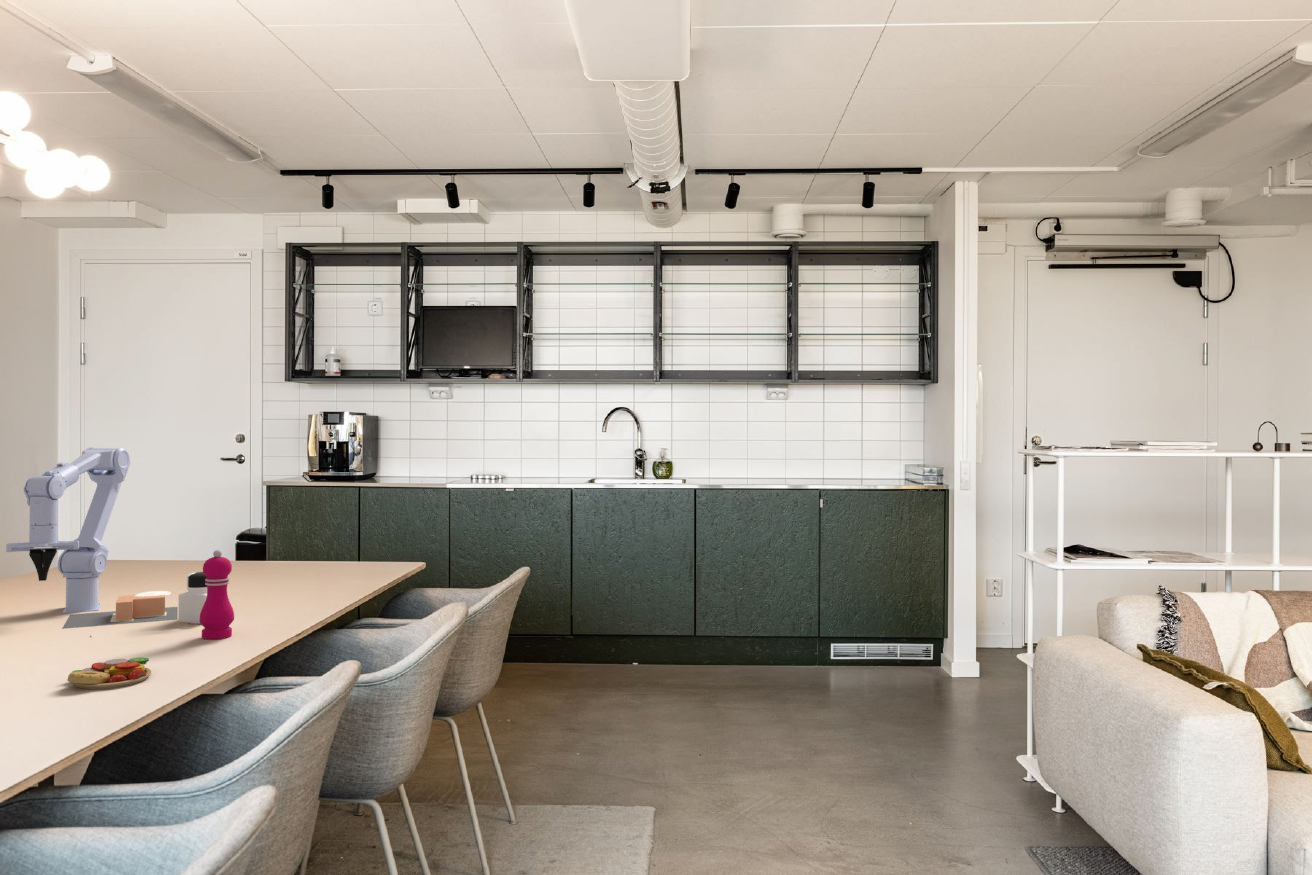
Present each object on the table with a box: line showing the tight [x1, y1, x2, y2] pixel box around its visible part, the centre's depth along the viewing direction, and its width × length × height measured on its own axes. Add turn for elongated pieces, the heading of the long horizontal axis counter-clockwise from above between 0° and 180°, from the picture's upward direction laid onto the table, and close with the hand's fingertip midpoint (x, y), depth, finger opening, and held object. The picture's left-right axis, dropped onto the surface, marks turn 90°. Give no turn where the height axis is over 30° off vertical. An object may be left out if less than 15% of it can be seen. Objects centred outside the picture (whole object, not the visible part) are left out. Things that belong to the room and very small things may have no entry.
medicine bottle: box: [177, 571, 207, 625], centre depth 222 cm, size 7×7×12 cm
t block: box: [115, 594, 166, 621], centre depth 225 cm, size 10×10×4 cm
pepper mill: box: [199, 549, 235, 641], centre depth 205 cm, size 7×7×20 cm
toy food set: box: [66, 656, 152, 690], centre depth 169 cm, size 13×13×3 cm
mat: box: [61, 606, 179, 630], centre depth 224 cm, size 18×24×1 cm
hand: (42, 580), depth 218 cm, fingers closed
